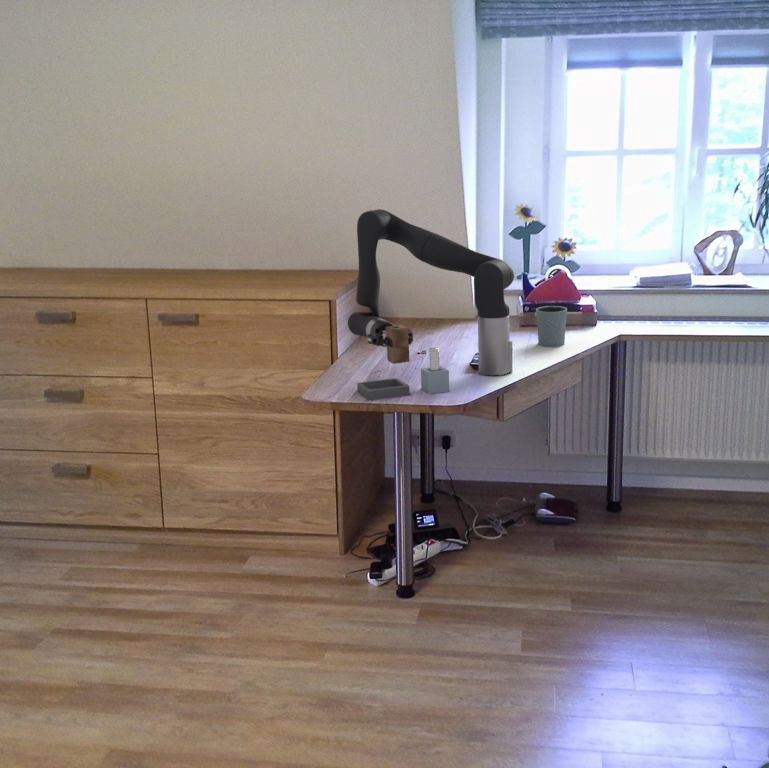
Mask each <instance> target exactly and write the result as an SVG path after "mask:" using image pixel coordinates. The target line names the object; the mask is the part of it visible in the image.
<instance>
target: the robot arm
mask: <svg viewBox="0 0 769 768" xmlns="http://www.w3.org/2000/svg"><path fill="white" fill-rule="evenodd" d="M356 234H357V235H356V236H357V237H356V239H357V253H358V254H357V256H358V275H357V277H358V278H357V287H356V299H355V301H356V304H358V305H359V306H361V307H366V308H369V311H355V312H352V313H351V314H350V315H349V317H348V319H347V326H348V327H347V328H348V329H349V331H350V332H351V333H352V334H353V335H355V336H360V337H365V338H367V343H368V344H370V345H374V346H377V347H385V348H387V346H389V347H393V343H392V339H390V338H388V337H387V336H386V327H389V326H396V325H395V324H393V323H392V322H390V321H388V320H386V319H383V318H381V313H380V306H379V304H380V303H379V298H380V297H379V296H380V290H381V288H380V287H381V275H380V271H379V270H380V269H379V267H378V262H377V248H378V244H379V240H380V241H381V240H386V241H389V242H391V243H392V242H393V243H395V244H398V245H401V246H403V247H404V248H405V249H406V250H407V251H408V252H410V254H411V255H412V256H414V257H415V258H416V259H417V260H419V261H421V262H423V263H425V264H428V265H429V266H431V267H434V268H438V269H441V270H444V271H451V272H455V273H461V274H465V275H469V276H471V277H472V278H473V291H474V306H475V308H476V310H477V341H478V342H477V343H478V346H477V347H478V348H477V349H478V352H477V355H478V359H477V360H478V366H477V367H478V373H479V374H480V375H482V376H488V375H492V377H494V376H493V375H499V376H505V375H507V373H508V374H510V373H509V372H511V373H513V371H514V370H513V341H512V340H511V339H510V330H511V329H510V305H508V304H507V303H506V301H505V295H504V294H505V289H508V287H510V286H511V285H512V283H513V282H514V279H515V273H514V270H513V268H512V266H511V265H510V264H509V263H508V262H507V261H505V260H503V259H501V258H497V257H493V256H490V255H487V254H484V253H481V252H478V251H475V250H473V249H471V248H468V247H466V246H465V245H463V244H461V243H458V242H455V241H453V240H451V239H449V238H447V237H445V236H443V235H441V234H438V233H435V232H433V231H430V230H428V229H425V228H422V227H420V226H416V225H414V224H411V223H409V222H408V221H405V220H404V219H402V218H400V217H398V216H397V215H394V214H393V213H392V212H390V211H388V210H385V209H380V208H379V209H373V210H367V211H365V212H363V213H361V214H360V215H359V217H358V219H357V223H356ZM413 342H414V333H413V331H412V329H409V328H408V343H409V346H410V345H412V343H413ZM504 374H505V375H504Z"/></svg>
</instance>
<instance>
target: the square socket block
mask: <svg viewBox="0 0 769 768" xmlns="http://www.w3.org/2000/svg"><path fill="white" fill-rule="evenodd" d="M420 381H421V383H420V384H421V385H420V386H421V387H420V388H421V390H422V391H424V392H425V393H427V394H428V395H435V394H441V393H447V392H448V391H449V392H450V370H449V369H447V368H445V367H444V366H442V365H439V371H432V372H431V371H430V366H429V367H421V368H420Z"/></svg>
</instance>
